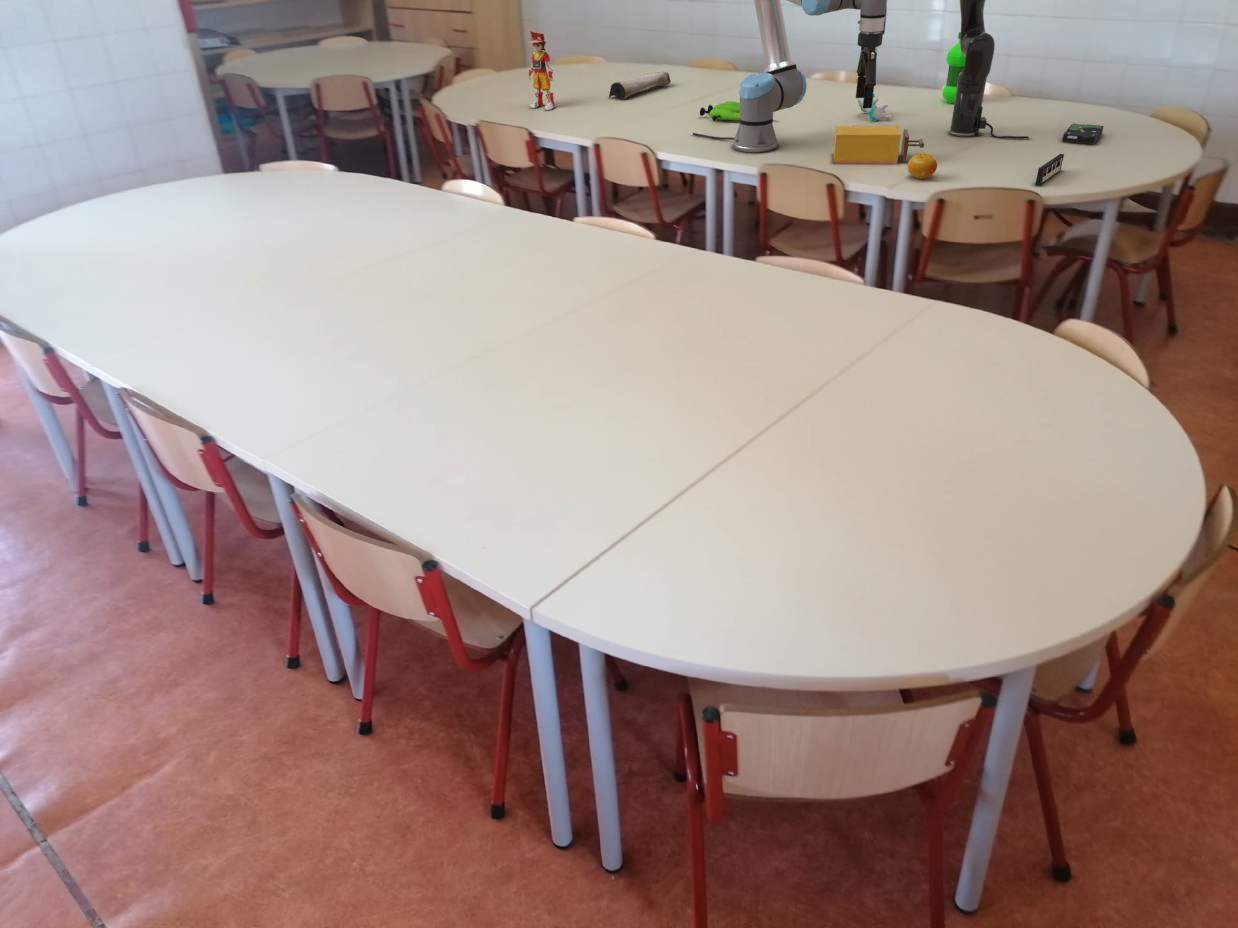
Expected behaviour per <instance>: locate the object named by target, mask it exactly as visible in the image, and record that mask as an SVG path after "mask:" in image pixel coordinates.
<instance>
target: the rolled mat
mask: <svg viewBox="0 0 1238 928" xmlns="http://www.w3.org/2000/svg"><path fill="white" fill-rule="evenodd" d="M671 83H672V81H671V77H670V74H669V72H668V71H658V72H654V73H649V74H645V75H640V76H637V77H633V78H628V79H623V80H620V81H616V82H613V83H612V84H611V85H610V89H609V95H608V97H609V98H611V97H616V99H620V100H622V101H623V100H626V99H627V98H629V97H630V96H632V95H635V94H636V93H638V92H640V91H643V90H644V89H647V88H650V87H655V86H658V87H659V86H661V87H665V86H669V85H670V84H671Z"/></svg>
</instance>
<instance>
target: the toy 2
mask: <svg viewBox="0 0 1238 928" xmlns="http://www.w3.org/2000/svg"><path fill="white" fill-rule="evenodd" d="M739 110H740V102H737V101H733V100H729V101H725V102H721V103H719V104H716V105H715V106H713V105H712V104H709V105H708V107H707V110H706V108H705V107H701V108H700V110H699V116H701V117H703V116H705V114H709V116H710V117H711V119H712V121H717V120H719V121H739ZM775 121H777V120H776V119H773V122H775Z"/></svg>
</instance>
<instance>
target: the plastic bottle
mask: <svg viewBox="0 0 1238 928" xmlns="http://www.w3.org/2000/svg"><path fill="white" fill-rule="evenodd" d="M960 36H961V31H959V32H958V36H957V39H958V42H957V43H956V44H954V45H953V46H952V47H951V48H950V49H949V50H948V52H947V54H946V63H947V64H948V69H947V70H948V71H947V76H946V77H947V78H946V84H945V85H944V87H943V90H942V97H943V99H944V100H945V101H946V102H947V103H948V104H954V103H955V96H956V90H957V83H958V77H959V74H960V73H961V72H962V71H963V69H964V64H965V59H966V57H965V56H963V54H962V52H961V49H960Z"/></svg>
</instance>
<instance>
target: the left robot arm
mask: <svg viewBox="0 0 1238 928" xmlns="http://www.w3.org/2000/svg"><path fill="white" fill-rule="evenodd" d="M786 1H787V2H789V3H792V4H793V5H796V6H798V7H801V8H802V10H803V11H804V13H805V14H806V15H807V16H811V17H813V16H821V15H824V14H829V13H832V12H837V11H842V10H847V9H848V10H849V9H850V10H859V11H860V12H859V14H860V15H859V20H858V21H857V24H858V25H859V26H858V31H859V32H858V34H857V46H858V47H860V53H859V57H858V64H857V69H856V73H857V79H856V91H855V99H858V98H864V100H863V108H872V100H873V101H874V98H873V93H874V90H875V87H876V86H877V57H878V51H877V52H874V51H875V47H876V46H877V48H878V47H880V46H882V44H883V38H884V36H883V35H884V34H883V33H882V32H881V31H883V30H884V22H885V8H886V1H887V2H888V0H786ZM753 2H754V8H755V13H756V18H757V23H758V30H759V35H760V39H761V45H762V51H763V55H764V61H765V65H766V66H765V68H764V70H763V72H760V73H757V74H756V73H754V74H750V75H747V76H746V77H744V78H743V79H741V81H740V86H739V92H738V93H739V94H738V95H739V103H740V110H739V120H738V127H737V130H736V134H735V136H734V137H721V136H714V135H707V134H702V133H697V132H696V133H695V132H692V136H696V137H702V138H708V139H714V140H726V141H727V140H728V141H729V140H731V141H733V149H734V150H736V151H739V152H741V153H751V154H752V153H754V154H755V153H765V152H770V151H773V150H775V149H776V148H777V147H778V139H777V135H776V132H775V129H774V128H775V127H774V124H773V123H774V121H773V120H774V113H776V112H779V111H782V110H785V109H789V108H793V107H794V106H797V105H798V104H800V103H801V102H802V101H803V99H804V97H805V96H806V93H807V86H808V85H807V80H806V76H805V75H804V73H802V71H800V70H798V68H797V67H798V66H797V63H796V62H795V61H793V60H792V59H791V53H790V48H789V47H790V46H789V43H788V37H787V30H786V24H785V19H784V13H783V7H782V1H781V0H753Z"/></svg>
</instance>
